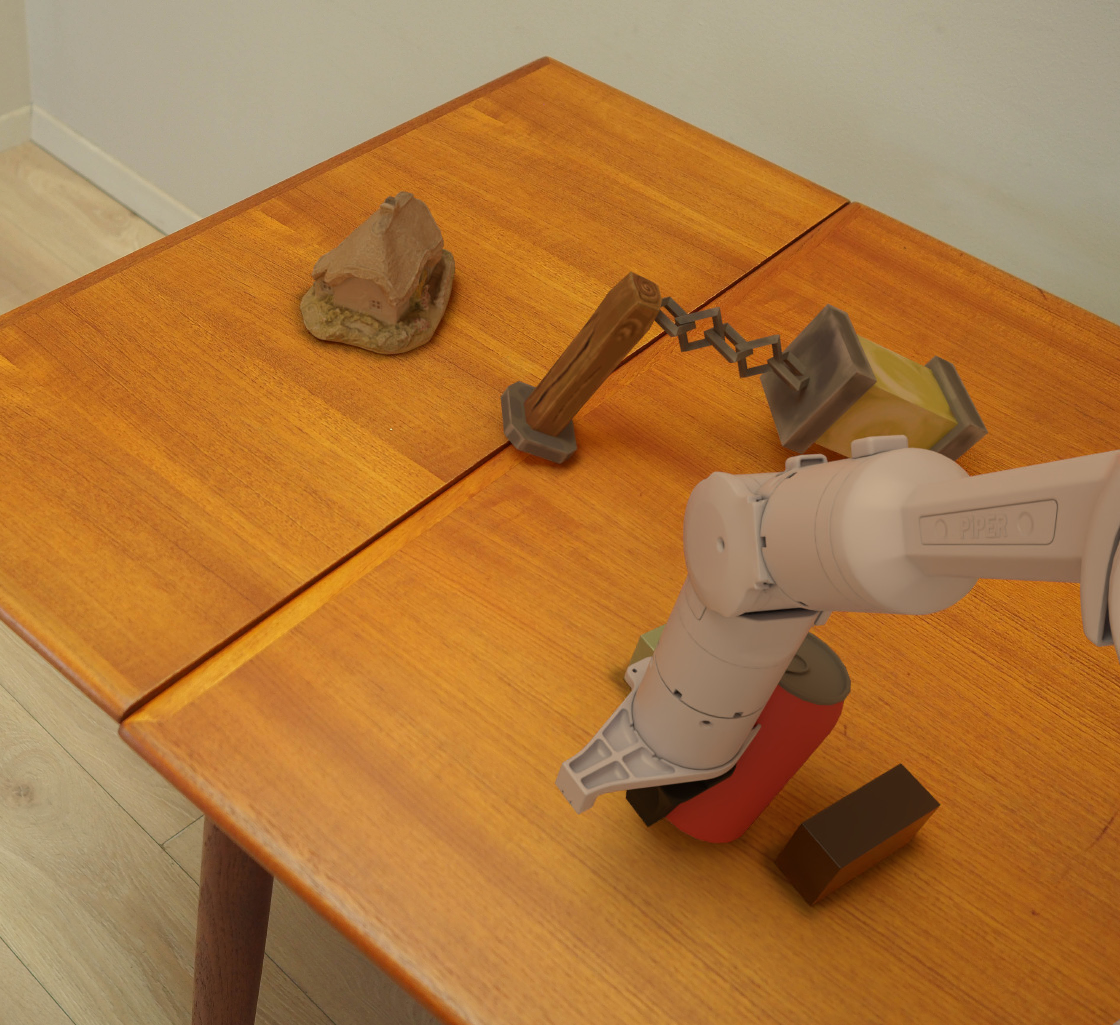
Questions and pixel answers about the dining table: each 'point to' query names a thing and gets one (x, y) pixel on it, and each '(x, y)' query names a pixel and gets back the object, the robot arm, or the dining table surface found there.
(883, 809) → the walnut block
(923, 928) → the dining table surface
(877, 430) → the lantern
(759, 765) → the beer can
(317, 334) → the ceramic model
